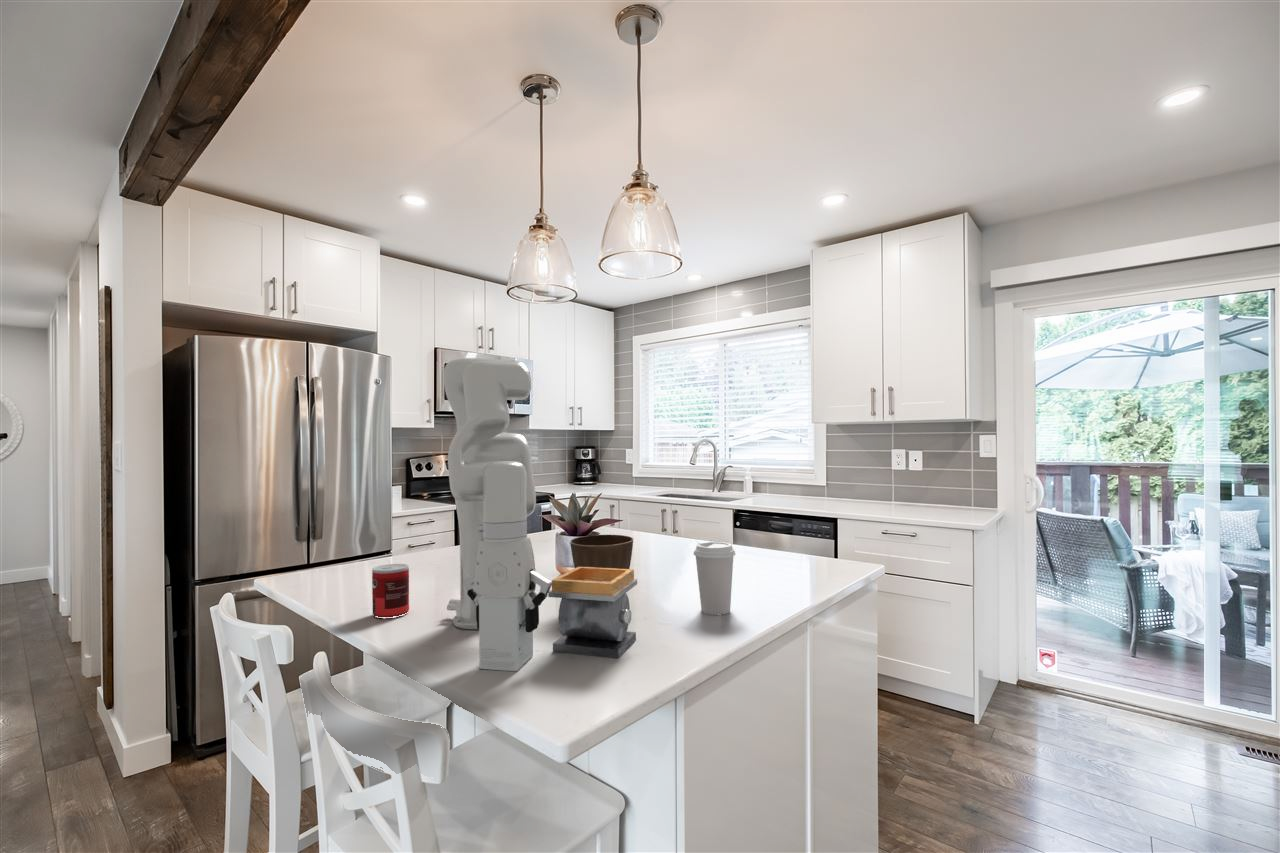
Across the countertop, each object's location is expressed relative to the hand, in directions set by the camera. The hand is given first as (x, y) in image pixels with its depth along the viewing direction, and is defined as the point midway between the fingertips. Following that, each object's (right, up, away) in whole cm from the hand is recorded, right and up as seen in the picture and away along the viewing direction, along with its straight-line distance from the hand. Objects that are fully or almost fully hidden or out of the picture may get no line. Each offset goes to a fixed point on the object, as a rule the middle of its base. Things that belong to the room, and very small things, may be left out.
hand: (507, 628), depth 103 cm
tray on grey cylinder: (+15, -6, +8) cm, 18 cm away
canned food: (-34, -8, +31) cm, 47 cm away
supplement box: (0, -7, 0) cm, 6 cm away
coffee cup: (+41, -6, +29) cm, 50 cm away
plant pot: (+15, -7, +33) cm, 37 cm away
